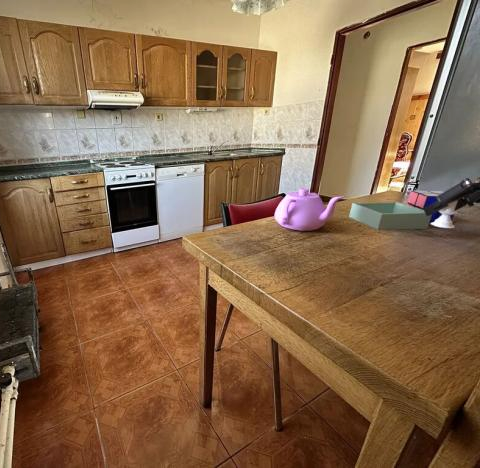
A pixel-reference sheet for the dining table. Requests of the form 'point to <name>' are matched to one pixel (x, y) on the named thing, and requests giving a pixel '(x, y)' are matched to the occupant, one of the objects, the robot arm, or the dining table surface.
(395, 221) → the bin
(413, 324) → the dining table surface
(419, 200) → the puzzle cube
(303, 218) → the teapot
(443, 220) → the candle
